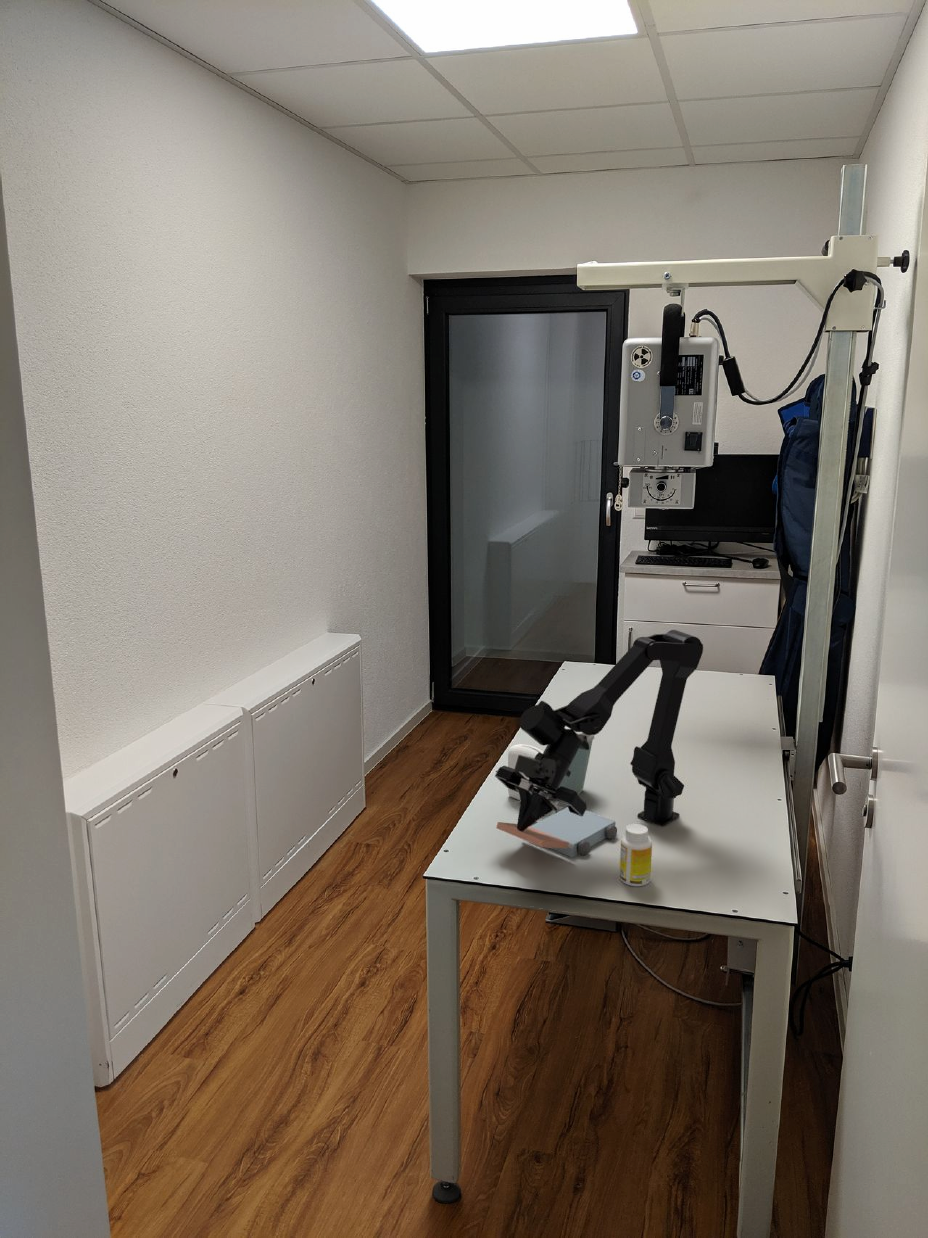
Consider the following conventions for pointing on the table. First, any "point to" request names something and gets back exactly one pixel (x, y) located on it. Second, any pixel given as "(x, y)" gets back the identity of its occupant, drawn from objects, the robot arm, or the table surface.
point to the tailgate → (534, 836)
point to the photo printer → (513, 756)
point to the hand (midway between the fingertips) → (519, 830)
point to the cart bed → (577, 829)
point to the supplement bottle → (636, 856)
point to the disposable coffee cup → (578, 767)
